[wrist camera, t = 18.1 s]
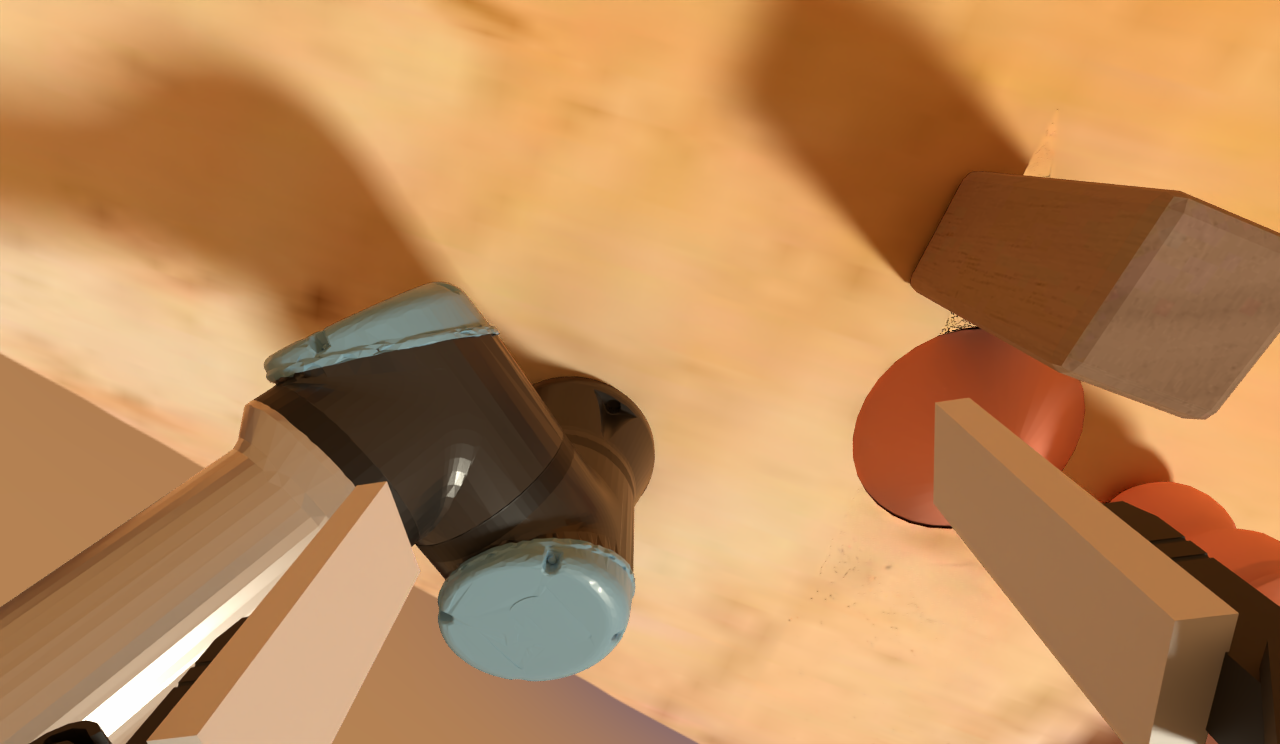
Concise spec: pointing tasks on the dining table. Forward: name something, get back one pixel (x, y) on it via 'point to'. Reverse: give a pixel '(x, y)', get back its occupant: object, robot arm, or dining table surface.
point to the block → (1110, 284)
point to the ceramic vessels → (1039, 415)
